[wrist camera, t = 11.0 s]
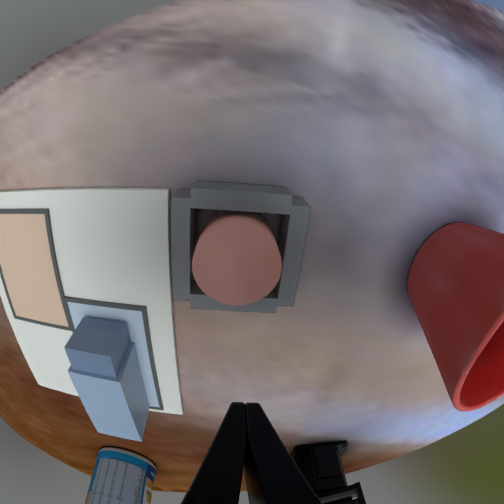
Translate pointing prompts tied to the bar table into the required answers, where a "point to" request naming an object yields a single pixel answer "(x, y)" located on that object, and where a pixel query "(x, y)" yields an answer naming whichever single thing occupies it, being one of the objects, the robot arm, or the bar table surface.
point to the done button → (236, 258)
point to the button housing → (237, 200)
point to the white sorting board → (90, 278)
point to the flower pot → (463, 310)
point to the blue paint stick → (108, 377)
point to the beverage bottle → (121, 478)
